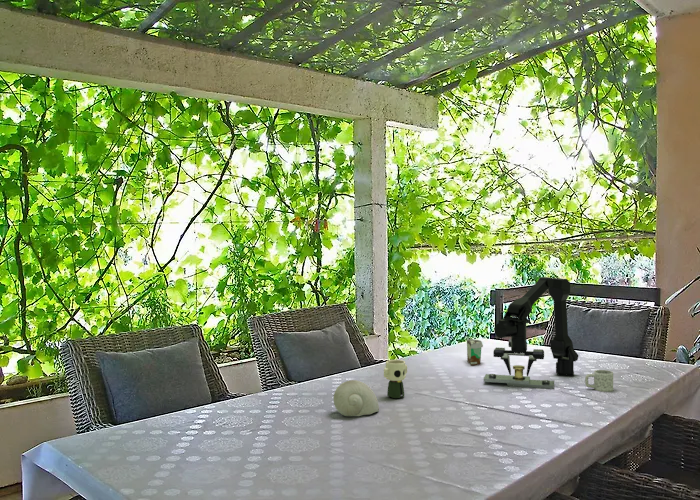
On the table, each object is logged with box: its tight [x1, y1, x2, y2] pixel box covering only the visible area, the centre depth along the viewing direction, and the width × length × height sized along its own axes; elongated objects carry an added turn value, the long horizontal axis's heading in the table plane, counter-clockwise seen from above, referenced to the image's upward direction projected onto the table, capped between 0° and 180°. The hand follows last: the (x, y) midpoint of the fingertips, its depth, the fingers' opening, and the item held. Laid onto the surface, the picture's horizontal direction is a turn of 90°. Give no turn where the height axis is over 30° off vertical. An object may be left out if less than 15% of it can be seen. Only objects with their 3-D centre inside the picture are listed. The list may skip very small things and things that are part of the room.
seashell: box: [333, 379, 380, 417], centre depth 221 cm, size 15×14×15 cm
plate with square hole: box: [483, 373, 555, 390], centre depth 255 cm, size 26×8×3 cm, turn 72°
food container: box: [466, 338, 484, 367], centre depth 293 cm, size 12×6×10 cm, turn 179°
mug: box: [584, 369, 614, 393], centre depth 245 cm, size 10×7×7 cm, turn 84°
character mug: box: [383, 359, 408, 399], centre depth 238 cm, size 11×7×13 cm, turn 127°
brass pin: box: [512, 364, 526, 380], centre depth 255 cm, size 4×4×7 cm
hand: (518, 375), depth 255 cm, fingers open, 6 cm apart
